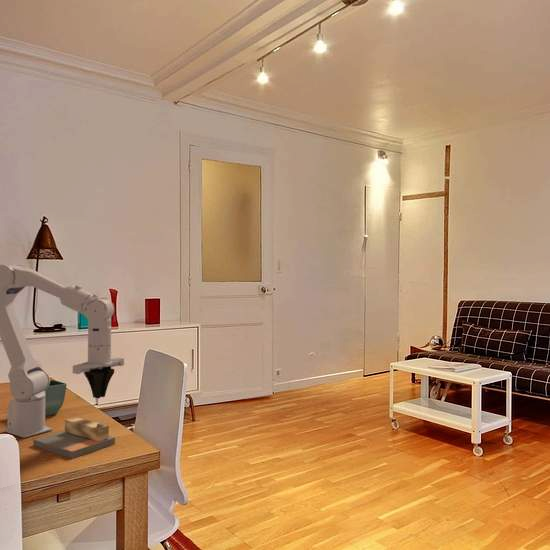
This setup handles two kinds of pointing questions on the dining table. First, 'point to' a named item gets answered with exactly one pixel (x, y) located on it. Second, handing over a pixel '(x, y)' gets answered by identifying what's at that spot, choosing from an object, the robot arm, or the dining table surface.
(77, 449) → the grey rectangular frame
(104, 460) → the dining table surface
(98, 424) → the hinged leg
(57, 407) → the flower pot
